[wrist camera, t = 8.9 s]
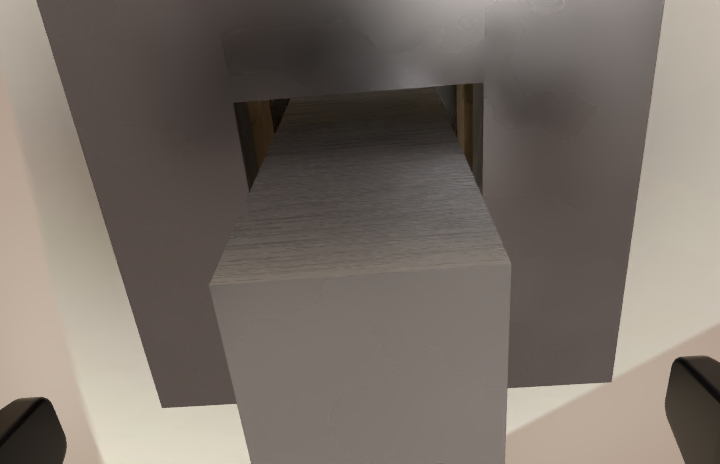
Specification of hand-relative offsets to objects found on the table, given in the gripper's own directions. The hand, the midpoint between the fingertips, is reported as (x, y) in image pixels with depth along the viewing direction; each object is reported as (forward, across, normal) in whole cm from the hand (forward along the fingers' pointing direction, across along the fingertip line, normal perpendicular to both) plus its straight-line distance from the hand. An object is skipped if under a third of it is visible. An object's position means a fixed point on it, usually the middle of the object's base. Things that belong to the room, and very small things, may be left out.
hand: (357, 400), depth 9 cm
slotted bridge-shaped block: (+11, 0, 0) cm, 11 cm away
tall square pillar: (+11, 0, 0) cm, 11 cm away
